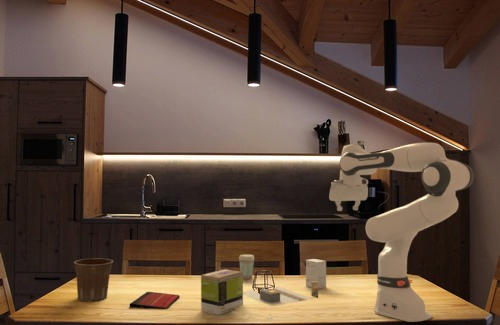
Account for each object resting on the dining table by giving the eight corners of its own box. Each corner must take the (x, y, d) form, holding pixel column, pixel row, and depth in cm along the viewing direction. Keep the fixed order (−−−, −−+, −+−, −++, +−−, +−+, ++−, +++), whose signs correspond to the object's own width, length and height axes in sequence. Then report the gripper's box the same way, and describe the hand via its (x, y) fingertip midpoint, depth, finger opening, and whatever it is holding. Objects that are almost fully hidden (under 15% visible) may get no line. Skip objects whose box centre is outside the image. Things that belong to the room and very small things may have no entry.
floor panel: (312, 302, 198) (313, 298, 198) (270, 309, 186) (270, 305, 187) (278, 289, 220) (278, 286, 220) (238, 295, 209) (238, 292, 209)
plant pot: (119, 295, 207) (120, 259, 207) (98, 304, 191) (99, 265, 192) (88, 292, 211) (88, 257, 212) (65, 301, 196) (65, 263, 196)
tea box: (225, 303, 195) (225, 268, 196) (243, 307, 189) (243, 271, 189) (200, 311, 183) (200, 273, 184) (218, 316, 177) (218, 277, 178)
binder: (129, 303, 187) (146, 291, 208) (129, 308, 187) (146, 296, 208) (167, 306, 185) (181, 293, 206) (167, 312, 185) (180, 299, 206)
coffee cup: (236, 276, 249) (236, 254, 249) (251, 276, 251) (251, 253, 252) (241, 280, 241) (241, 257, 241) (256, 279, 243) (256, 256, 244)
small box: (326, 287, 226) (326, 260, 227) (317, 289, 222) (317, 262, 223) (314, 284, 232) (314, 258, 233) (305, 286, 228) (305, 259, 229)
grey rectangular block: (280, 301, 194) (280, 291, 194) (270, 302, 191) (270, 293, 191) (269, 296, 201) (269, 288, 201) (259, 298, 198) (259, 289, 198)
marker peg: (319, 297, 206) (319, 282, 206) (314, 298, 204) (314, 282, 204) (315, 296, 208) (315, 280, 209) (310, 297, 207) (310, 281, 207)
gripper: (336, 181, 200) (334, 212, 201) (370, 180, 210) (368, 210, 211) (327, 179, 205) (325, 210, 206) (361, 179, 216) (359, 208, 216)
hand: (347, 210), depth 209 cm, fingers open, 8 cm apart
